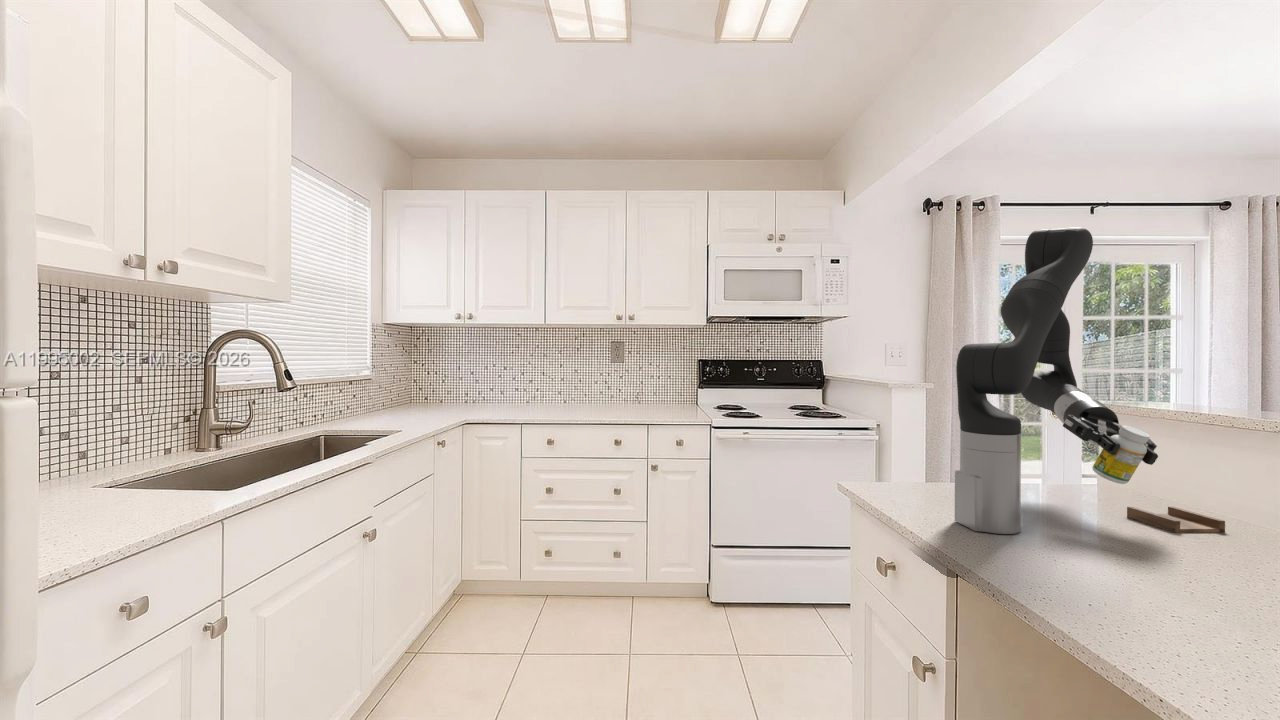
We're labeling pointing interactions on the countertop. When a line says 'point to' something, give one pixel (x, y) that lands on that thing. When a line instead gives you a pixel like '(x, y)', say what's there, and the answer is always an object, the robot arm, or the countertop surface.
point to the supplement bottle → (1122, 456)
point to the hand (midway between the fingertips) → (1134, 454)
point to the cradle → (1178, 520)
